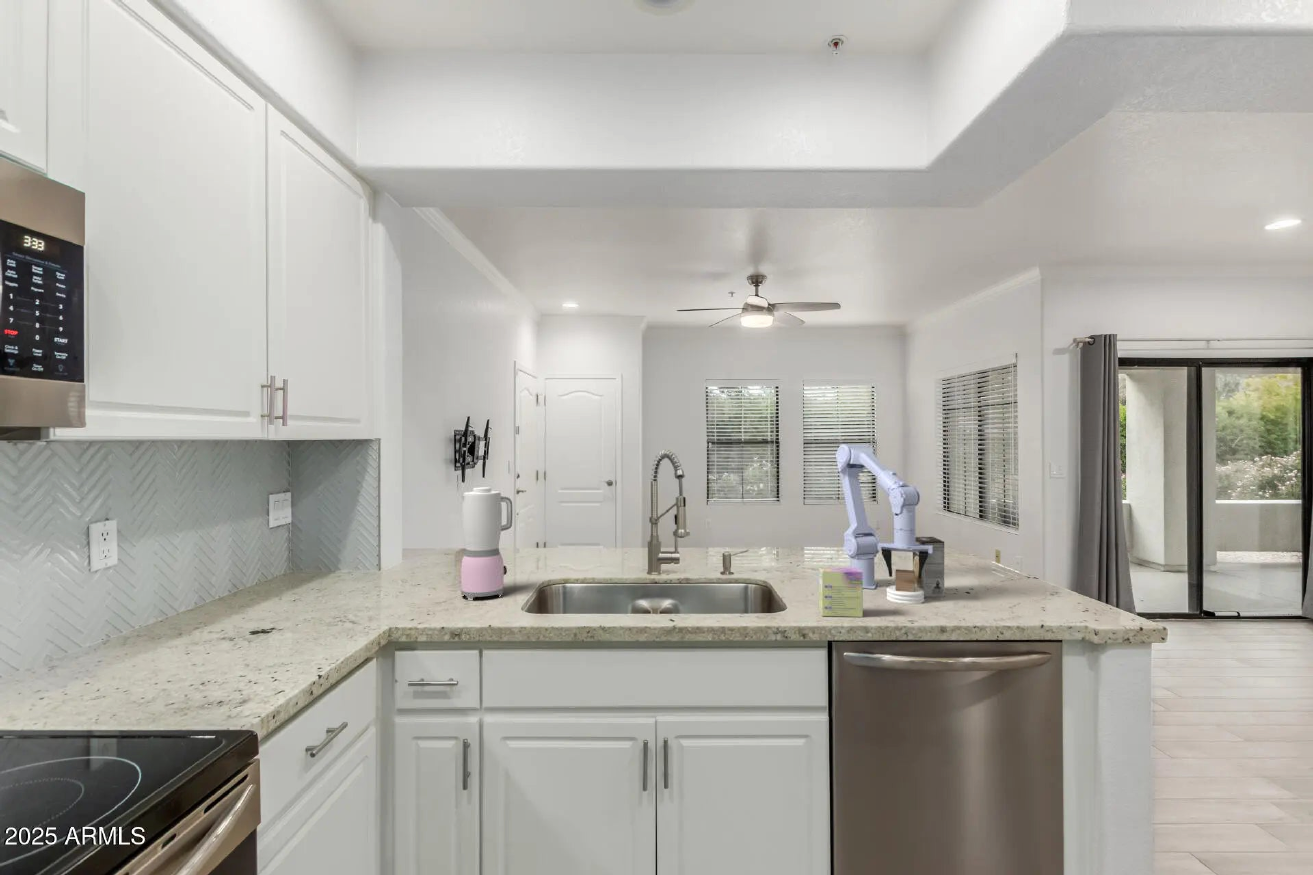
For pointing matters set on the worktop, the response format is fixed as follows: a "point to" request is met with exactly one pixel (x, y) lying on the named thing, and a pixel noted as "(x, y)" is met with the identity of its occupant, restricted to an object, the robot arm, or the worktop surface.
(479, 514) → the blender
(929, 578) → the coffee box
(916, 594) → the white round dish
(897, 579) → the walnut block
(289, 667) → the worktop surface
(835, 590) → the box
